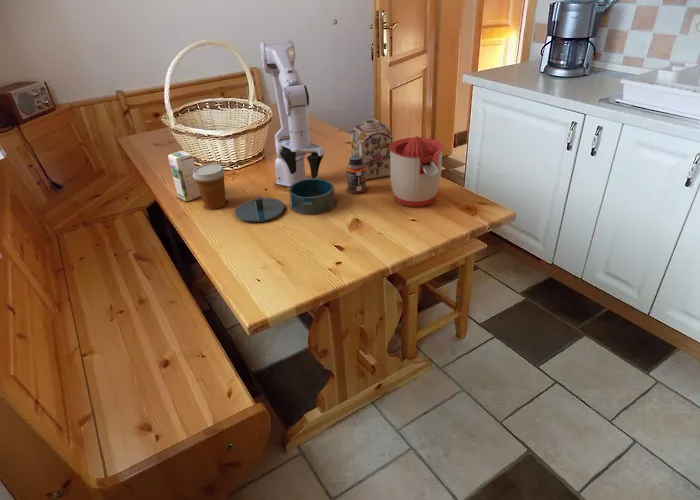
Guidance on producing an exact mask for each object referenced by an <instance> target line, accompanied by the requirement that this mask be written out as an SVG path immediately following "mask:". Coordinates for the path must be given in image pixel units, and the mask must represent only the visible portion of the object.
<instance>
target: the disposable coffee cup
mask: <svg viewBox="0 0 700 500" xmlns="http://www.w3.org/2000/svg"><path fill="white" fill-rule="evenodd" d="M225 172H226V171H225V169H224V167H223V166H222V165H221V164H219V163H205V164H201V165H199V166H195V169H194V170H193V175H192V176H193V178H194V179H195V180H196V183H197V186H198V188H199V191H200V193H201V196H200V197H201V198H202V201H203V204H204V206H205V208H206V209H207V210H217V209H221V208H223V207H225V206H226V204H227V202H226V184H225Z"/></svg>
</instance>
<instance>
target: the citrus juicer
mask: <svg viewBox="0 0 700 500" xmlns="http://www.w3.org/2000/svg"><path fill="white" fill-rule="evenodd" d="M389 149H390V175H389V176H390V186H391V190H392V193H393V196H394V198H395V200H396V202H398V204H401V205H403V206H405V207H409V208H413V207H423V206H424V207H425V206H427V205H430V204H431V203H432V202H433V201H434V200H435V198H436V196H437V193H438V190H439V187H440V183H441V177H442V166H443V165H442V164H443V152H444V151H443V150H444V149H445V147H444V145H443V143H442V142H440V141H438V140H436V139H432V138H429V137H427V138H426V137H420V136H418V135H417V136H416V135H415V136H413V137H405V138H400V139H397V140H395V141H393V143H392V144H391V145H390V147H389Z"/></svg>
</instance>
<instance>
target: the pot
mask: <svg viewBox="0 0 700 500" xmlns="http://www.w3.org/2000/svg"><path fill="white" fill-rule="evenodd" d="M335 193H336V192H335V185H334V183H333V182H332V181H329V180H327V179H323V178H320V177H319V176H317V177H315V178H312V177H311V179H306V180H301V181H298V182H296V183H294V184H293V185H291V186H290V187H289V188H288V197H289V205H290V208H291V210H293V211H294V212H295V213H298V214H302V215H318V214H323V213H325V212H328V211H330V210H332V209H333V208H334V207H335V205H336V194H335Z"/></svg>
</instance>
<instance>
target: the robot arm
mask: <svg viewBox="0 0 700 500" xmlns="http://www.w3.org/2000/svg"><path fill="white" fill-rule="evenodd" d="M259 49H260V50H259V51H260V57H261V62H262V68H263V70H264V73H266V74H268V75H270V77H271V79H272V82H273V88H274V93H275V99H276V104H277V110H278V116H279V123H280V129H278V131H277V132H276V133H275V134H274V147H275V151H276V152H275V153H276V156H277V157H276V159H275V161H274V170H275V176H276V182H275V185H279V186H284V187H289V188H290V186H291V185H293V184H294V183H296V182H298V181H301V180H306V179H312V178H315V177H319V176H318V175H319V169H320V165H321V162H322V160H323V157H324V155H325V153H326V151H325V146H321V145H318V144H315V143H313V142H312V139H311V131H310V129H311V128H310V119H309V118H310V117H309V108H308V107H310V93H309V88H308V86H307V84H306V83H305V82H302V79H301V76H300V73H299V71H298V70H297V69H295V68H294V67H295V64H296V63H295V61H296V47H295V44H294V42H293V40H292V39H287V40H279V41H269V42H261V43H260V45H259ZM307 154H310V155H308V156H307ZM305 158H306V159H307V161H308V164H309V167H310V169H309V170H310V175H311V177H308V176H306V167H305Z"/></svg>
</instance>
